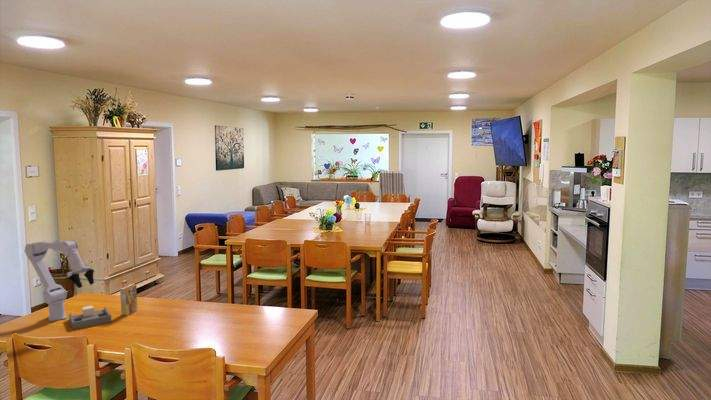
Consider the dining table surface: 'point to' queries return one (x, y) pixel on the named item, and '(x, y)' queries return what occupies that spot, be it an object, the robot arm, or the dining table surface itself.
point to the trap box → (90, 319)
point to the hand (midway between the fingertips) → (86, 285)
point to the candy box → (128, 299)
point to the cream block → (88, 311)
